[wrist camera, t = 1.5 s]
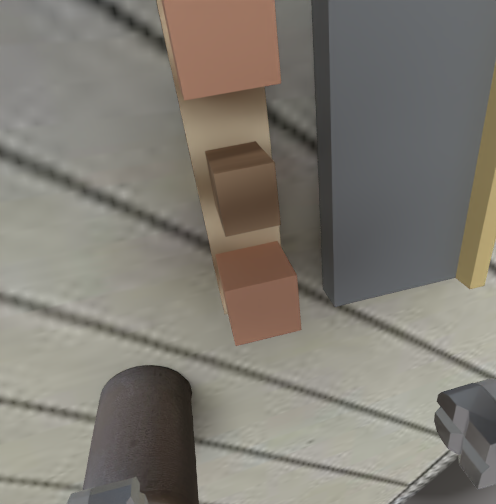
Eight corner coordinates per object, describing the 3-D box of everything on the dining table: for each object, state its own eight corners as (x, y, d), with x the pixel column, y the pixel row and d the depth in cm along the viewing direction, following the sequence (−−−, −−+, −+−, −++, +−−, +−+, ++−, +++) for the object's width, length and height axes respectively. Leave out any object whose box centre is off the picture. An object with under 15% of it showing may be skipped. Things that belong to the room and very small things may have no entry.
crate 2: (215, 254, 29) (224, 291, 25) (277, 240, 30) (296, 275, 25) (225, 304, 32) (235, 345, 27) (282, 291, 32) (301, 329, 28)
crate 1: (159, -11, 20) (158, -23, 16) (248, -24, 21) (271, -39, 17) (180, 88, 23) (184, 100, 19) (259, 75, 23) (281, 83, 19)
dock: (307, -108, 23) (341, -141, 18) (516, -134, 24) (592, -170, 20) (322, 288, 38) (343, 320, 34) (449, 258, 40) (484, 285, 35)
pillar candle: (206, 376, 41) (224, 528, 28) (170, 433, 44) (171, 593, 32) (117, 354, 37) (92, 519, 24) (85, 419, 41) (48, 593, 28)
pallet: (151, -23, 23) (146, -52, 16) (237, -35, 24) (274, -69, 16) (218, 287, 36) (234, 356, 28) (274, 274, 36) (305, 339, 28)
